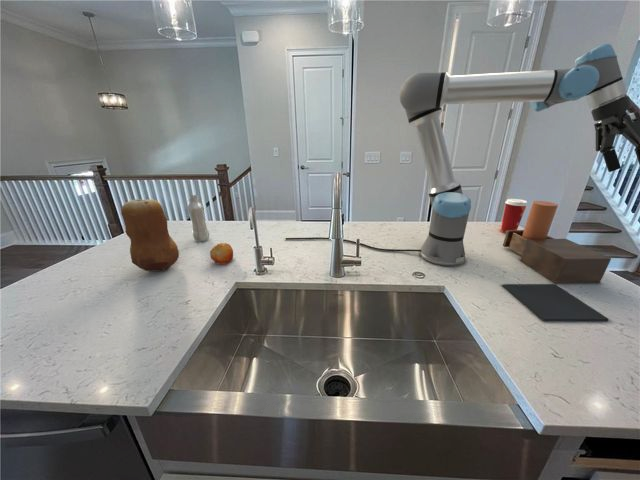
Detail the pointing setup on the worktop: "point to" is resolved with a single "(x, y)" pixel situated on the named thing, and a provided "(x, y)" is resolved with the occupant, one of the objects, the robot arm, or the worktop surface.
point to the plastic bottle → (197, 219)
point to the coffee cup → (513, 214)
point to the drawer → (516, 240)
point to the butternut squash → (149, 235)
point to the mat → (553, 303)
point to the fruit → (222, 253)
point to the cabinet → (564, 261)
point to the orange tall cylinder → (539, 220)
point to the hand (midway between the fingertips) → (630, 170)
